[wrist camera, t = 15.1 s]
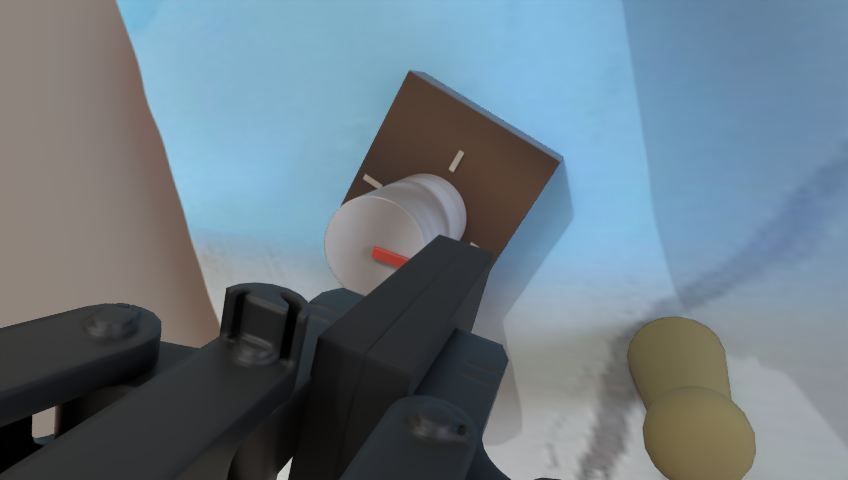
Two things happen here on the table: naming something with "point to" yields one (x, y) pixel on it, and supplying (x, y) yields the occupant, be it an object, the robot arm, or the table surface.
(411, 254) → the knob
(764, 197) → the table surface
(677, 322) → the olive pawn figure
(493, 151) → the control panel
